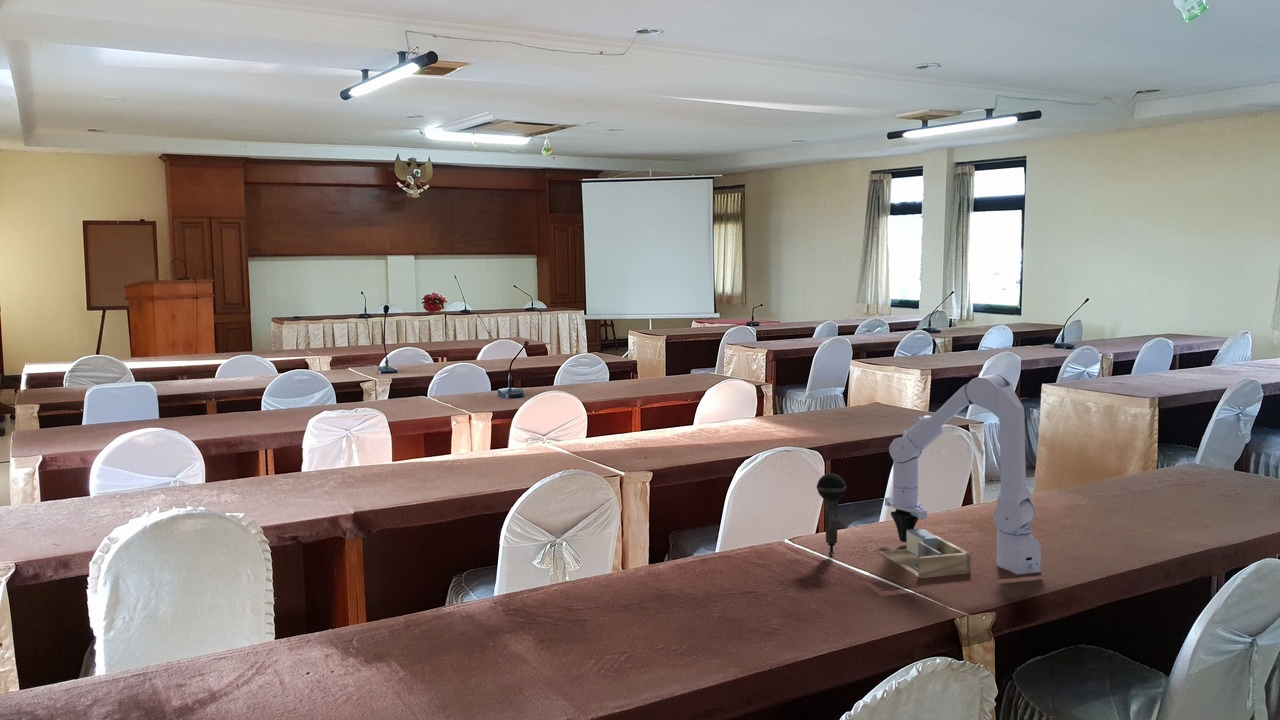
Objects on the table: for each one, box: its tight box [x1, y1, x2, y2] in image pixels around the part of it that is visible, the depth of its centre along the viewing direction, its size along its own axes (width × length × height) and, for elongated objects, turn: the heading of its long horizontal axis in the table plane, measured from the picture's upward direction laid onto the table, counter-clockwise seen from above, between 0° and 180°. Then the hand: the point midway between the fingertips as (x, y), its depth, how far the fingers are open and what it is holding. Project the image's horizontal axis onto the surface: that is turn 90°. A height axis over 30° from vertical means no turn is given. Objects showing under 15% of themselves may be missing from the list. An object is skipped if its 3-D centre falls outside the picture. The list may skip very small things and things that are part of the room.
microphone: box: [816, 472, 847, 557], centre depth 223 cm, size 7×7×20 cm
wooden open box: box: [878, 529, 972, 579], centre depth 216 cm, size 20×12×6 cm, turn 12°
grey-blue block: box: [905, 528, 937, 557], centre depth 221 cm, size 8×4×5 cm, turn 12°
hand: (905, 541), depth 229 cm, fingers closed
